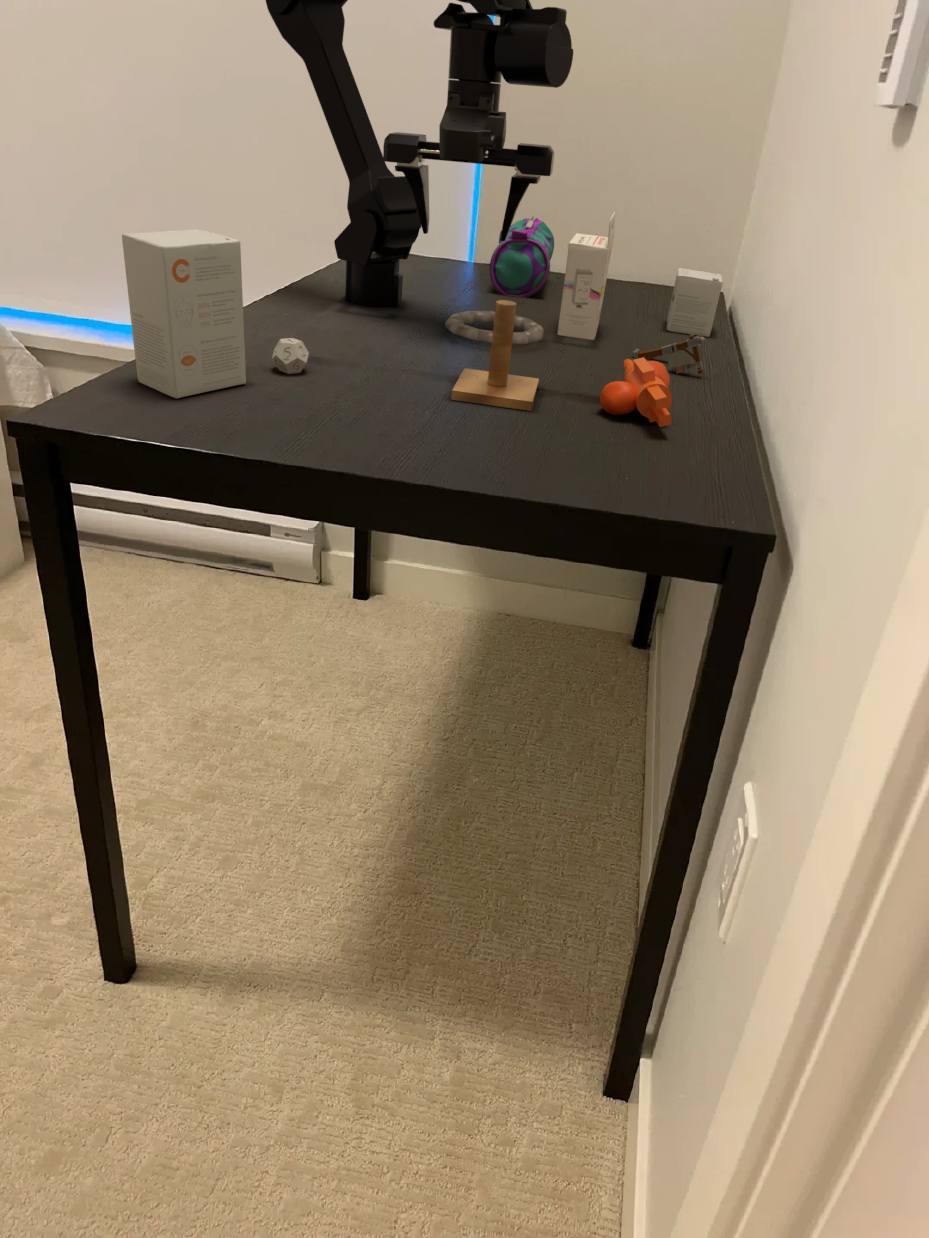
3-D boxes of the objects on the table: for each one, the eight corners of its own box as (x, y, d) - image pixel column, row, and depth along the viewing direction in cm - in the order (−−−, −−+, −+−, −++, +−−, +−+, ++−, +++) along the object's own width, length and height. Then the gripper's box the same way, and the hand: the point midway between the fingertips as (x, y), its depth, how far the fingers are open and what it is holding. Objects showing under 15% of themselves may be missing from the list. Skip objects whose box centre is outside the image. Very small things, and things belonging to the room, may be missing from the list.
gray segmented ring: (437, 343, 104) (438, 326, 103) (453, 320, 115) (455, 305, 114) (538, 357, 103) (540, 340, 102) (545, 333, 114) (547, 317, 113)
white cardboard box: (666, 321, 126) (677, 267, 122) (709, 327, 125) (722, 273, 121) (665, 331, 121) (677, 274, 117) (710, 337, 120) (724, 281, 116)
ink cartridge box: (561, 327, 117) (578, 206, 110) (598, 332, 117) (618, 211, 109) (553, 342, 110) (572, 214, 102) (593, 348, 109) (614, 219, 102)
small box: (207, 368, 88) (199, 227, 81) (247, 385, 85) (242, 240, 78) (134, 381, 83) (119, 232, 76) (175, 400, 80) (162, 246, 73)
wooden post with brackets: (709, 372, 101) (702, 333, 100) (641, 388, 105) (632, 350, 103) (711, 369, 103) (704, 330, 101) (644, 384, 106) (636, 347, 105)
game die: (281, 377, 88) (280, 347, 86) (267, 366, 91) (266, 336, 89) (314, 374, 90) (314, 345, 88) (299, 364, 92) (299, 335, 91)
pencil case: (495, 273, 144) (502, 209, 139) (549, 280, 144) (558, 216, 139) (484, 300, 127) (491, 228, 122) (545, 307, 126) (555, 235, 121)
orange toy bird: (689, 378, 80) (657, 343, 90) (608, 398, 81) (586, 361, 91) (694, 430, 83) (663, 390, 93) (616, 449, 84) (593, 407, 94)
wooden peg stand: (451, 400, 87) (459, 305, 82) (463, 377, 94) (471, 289, 89) (531, 411, 86) (544, 317, 82) (538, 387, 93) (550, 299, 89)
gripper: (373, 73, 90) (370, 238, 98) (557, 88, 88) (539, 255, 96) (395, 75, 99) (391, 226, 107) (561, 89, 98) (545, 241, 106)
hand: (464, 237), depth 104 cm, fingers open, 9 cm apart
